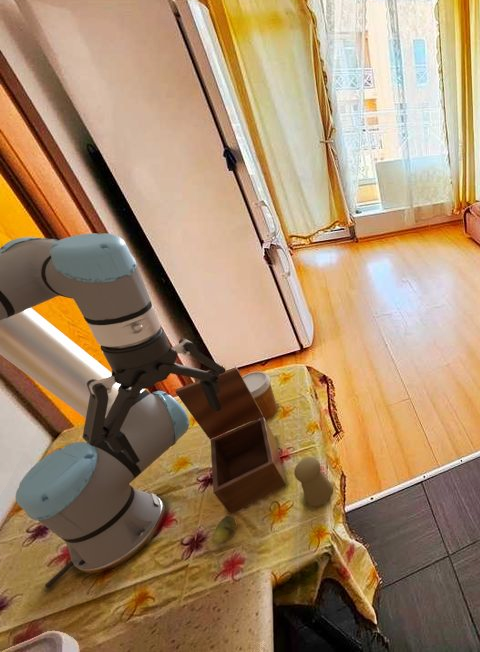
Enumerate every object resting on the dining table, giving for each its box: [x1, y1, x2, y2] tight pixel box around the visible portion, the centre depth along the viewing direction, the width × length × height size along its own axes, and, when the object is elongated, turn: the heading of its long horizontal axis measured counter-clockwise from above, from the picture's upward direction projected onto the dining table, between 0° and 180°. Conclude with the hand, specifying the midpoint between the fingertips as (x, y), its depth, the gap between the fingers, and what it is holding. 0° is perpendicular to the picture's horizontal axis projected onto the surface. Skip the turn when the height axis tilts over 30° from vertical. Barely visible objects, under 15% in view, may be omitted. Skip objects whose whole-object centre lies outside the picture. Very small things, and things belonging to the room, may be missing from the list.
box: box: [210, 417, 287, 515], centre depth 86 cm, size 16×12×9 cm
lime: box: [211, 515, 238, 545], centre depth 75 cm, size 4×5×5 cm
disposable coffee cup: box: [241, 371, 278, 421], centre depth 102 cm, size 10×10×12 cm
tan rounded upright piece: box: [294, 456, 334, 507], centre depth 80 cm, size 6×6×11 cm
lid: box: [174, 364, 263, 440], centre depth 86 cm, size 17×12×6 cm
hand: (177, 431), depth 66 cm, fingers open, 13 cm apart
